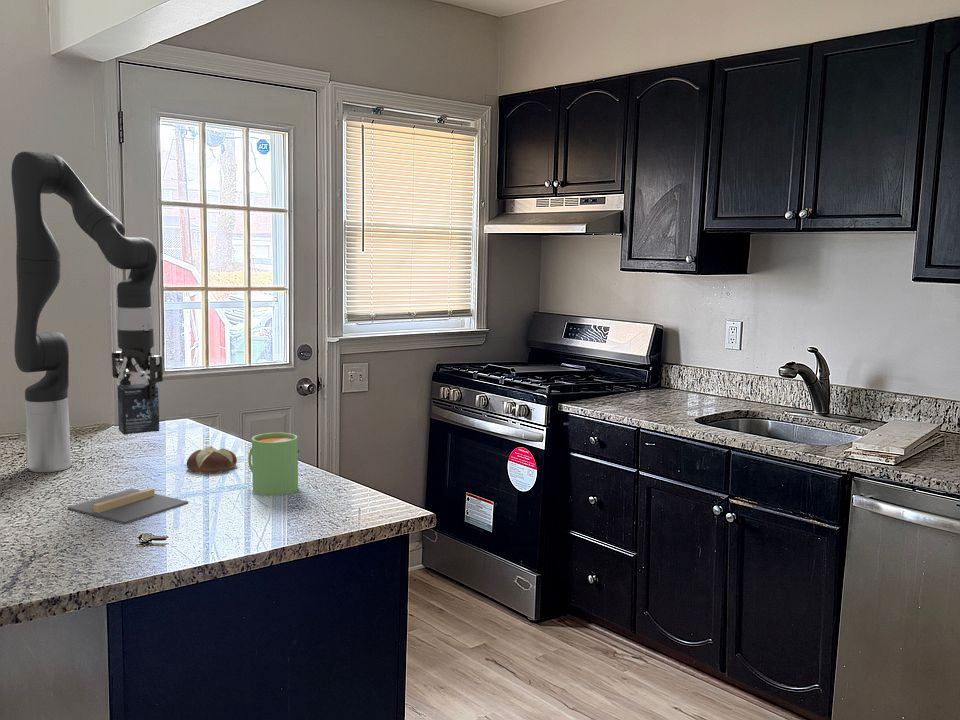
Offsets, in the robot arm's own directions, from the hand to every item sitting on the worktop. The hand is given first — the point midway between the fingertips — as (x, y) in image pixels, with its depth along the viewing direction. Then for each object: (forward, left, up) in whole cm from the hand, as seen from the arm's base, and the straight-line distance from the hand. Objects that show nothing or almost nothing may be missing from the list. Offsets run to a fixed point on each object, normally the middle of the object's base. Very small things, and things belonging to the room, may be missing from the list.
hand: (138, 399), depth 196 cm
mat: (+11, -13, -20) cm, 26 cm away
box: (0, 0, -8) cm, 8 cm away
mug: (+27, +13, -20) cm, 36 cm away
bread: (+3, +19, -20) cm, 28 cm away
